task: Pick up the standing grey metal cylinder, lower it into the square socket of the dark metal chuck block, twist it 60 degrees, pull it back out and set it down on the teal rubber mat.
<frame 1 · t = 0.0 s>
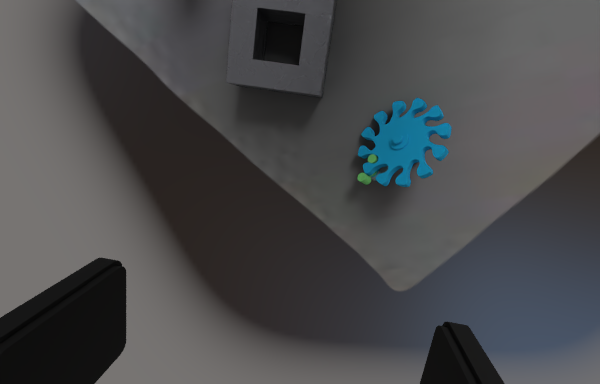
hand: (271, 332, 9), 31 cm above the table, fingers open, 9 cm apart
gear: (391, 142, 38), on the table
chuck block: (285, 46, 37), on the table
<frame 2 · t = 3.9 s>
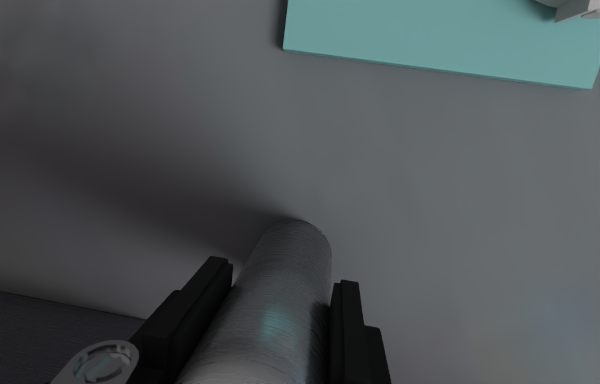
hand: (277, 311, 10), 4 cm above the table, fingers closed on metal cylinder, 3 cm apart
chuck block: (59, 380, 18), on the table
metal cylinder: (294, 255, 15), on the table, touching gripper
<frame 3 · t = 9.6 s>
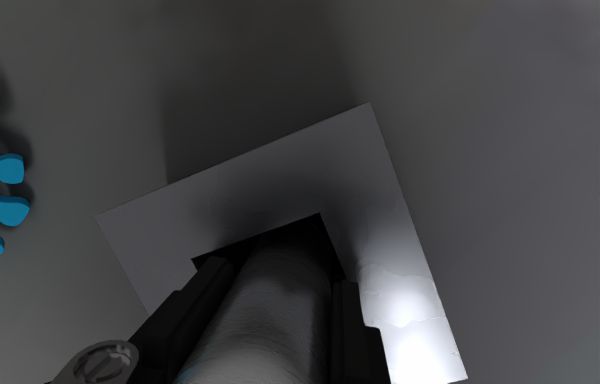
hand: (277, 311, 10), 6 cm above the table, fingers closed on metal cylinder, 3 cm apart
chuck block: (297, 241, 16), on the table
metal cylinder: (294, 253, 15), point 1 cm above the table, touching gripper
when the fingers open (6 cm above the table, at t = 15.6 s): metal cylinder stays where it is and tips over, point 2 cm above the table.
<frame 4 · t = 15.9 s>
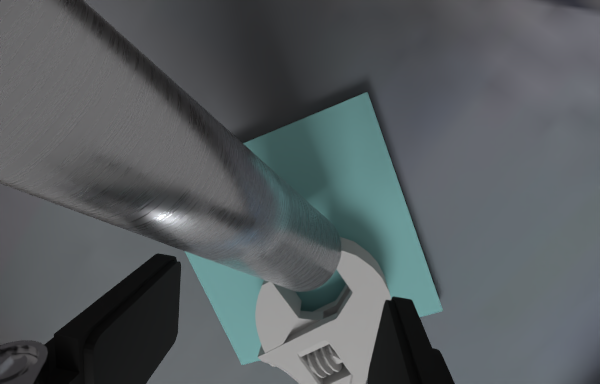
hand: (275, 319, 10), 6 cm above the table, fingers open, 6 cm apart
metal cylinder: (304, 251, 14), point 2 cm above the table, tilted 45°
mat: (297, 241, 16), on the table
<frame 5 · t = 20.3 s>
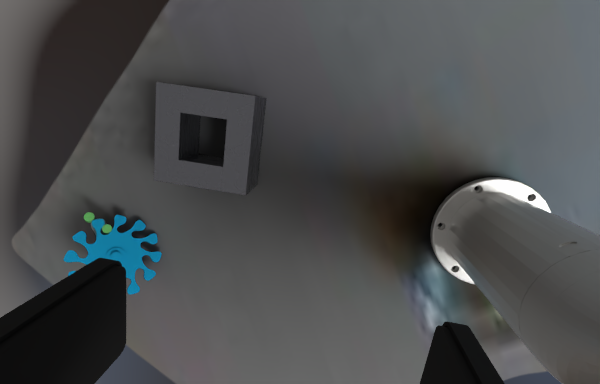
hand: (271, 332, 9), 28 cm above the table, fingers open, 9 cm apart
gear: (133, 240, 42), on the table
chuck block: (219, 136, 37), on the table
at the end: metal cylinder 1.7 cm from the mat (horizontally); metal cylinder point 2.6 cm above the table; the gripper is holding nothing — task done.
